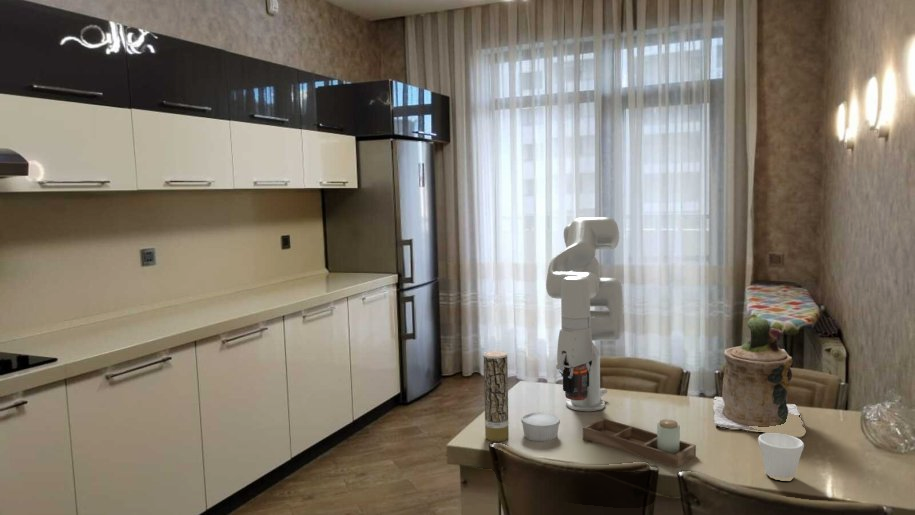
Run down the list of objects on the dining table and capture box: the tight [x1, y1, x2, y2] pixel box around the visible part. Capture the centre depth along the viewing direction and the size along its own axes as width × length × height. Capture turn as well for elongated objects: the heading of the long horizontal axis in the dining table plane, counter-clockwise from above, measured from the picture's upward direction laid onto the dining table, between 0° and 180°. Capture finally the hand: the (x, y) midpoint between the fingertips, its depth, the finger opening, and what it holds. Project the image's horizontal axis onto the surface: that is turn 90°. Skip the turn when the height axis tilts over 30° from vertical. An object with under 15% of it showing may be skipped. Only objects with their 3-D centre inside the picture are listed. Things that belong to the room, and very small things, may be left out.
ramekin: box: [520, 411, 561, 442], centre depth 186 cm, size 11×11×5 cm
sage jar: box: [656, 418, 681, 455], centre depth 168 cm, size 6×6×9 cm
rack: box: [582, 417, 697, 469], centre depth 175 cm, size 10×29×4 cm, turn 43°
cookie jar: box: [712, 313, 804, 431], centre depth 193 cm, size 25×25×32 cm
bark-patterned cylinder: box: [483, 350, 510, 442], centre depth 184 cm, size 7×7×25 cm
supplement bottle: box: [564, 363, 588, 400], centre depth 171 cm, size 6×6×11 cm
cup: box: [757, 433, 805, 478], centre depth 156 cm, size 10×10×9 cm
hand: (576, 388), depth 172 cm, fingers closed on supplement bottle, 6 cm apart
